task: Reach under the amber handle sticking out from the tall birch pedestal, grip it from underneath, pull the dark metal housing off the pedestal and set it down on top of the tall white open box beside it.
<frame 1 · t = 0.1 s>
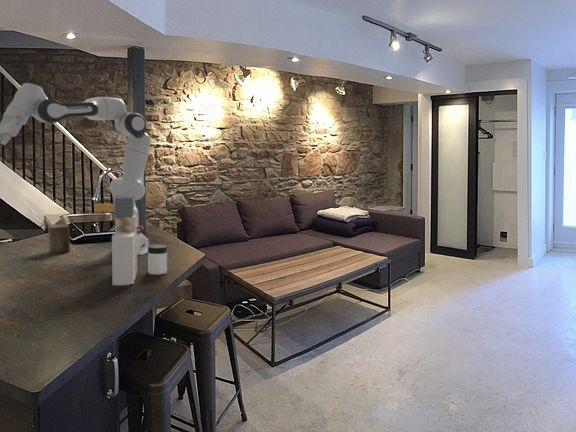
hand: (0, 144, 204), 54 cm above the counter, tool tilted 30°, fingers open, 8 cm apart
housing: (124, 215, 205), point 26 cm above the counter, touching tall pedestal
jar: (157, 272, 215), on the counter
pillar candle: (59, 252, 246), on the counter
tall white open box: (124, 281, 199), on the counter
tall pedestal: (126, 274, 209), on the counter
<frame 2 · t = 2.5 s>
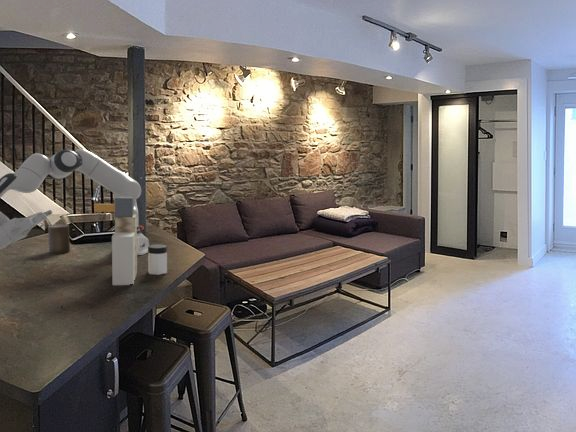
hand: (48, 213, 200), 27 cm above the counter, tool pointing upward, fingers open, 8 cm apart
nothing on the counter moved.
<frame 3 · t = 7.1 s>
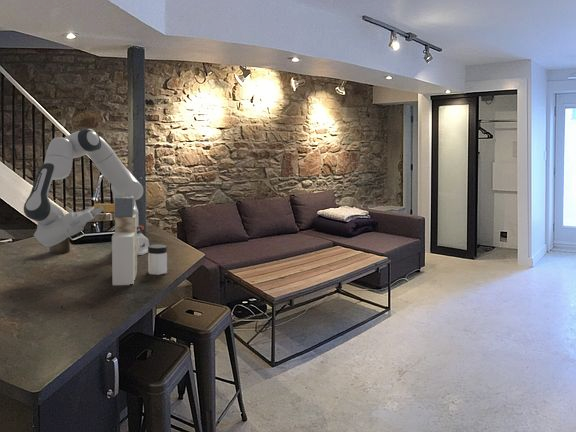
hand: (104, 206, 203), 30 cm above the counter, tool pointing upward, fingers closed on housing, 3 cm apart
housing: (124, 215, 205), point 26 cm above the counter, touching gripper, tall pedestal
everything else where it was.
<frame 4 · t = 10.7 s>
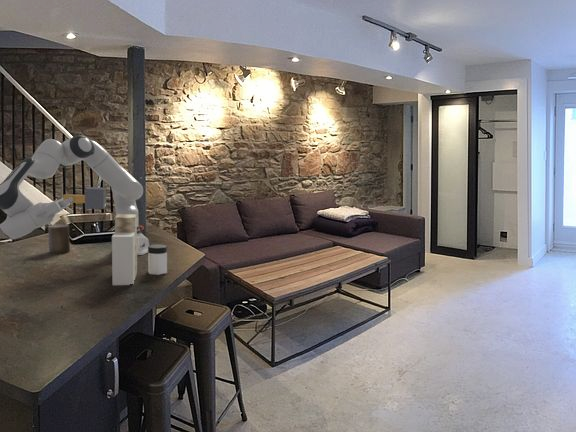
hand: (74, 197, 194), 34 cm above the counter, tool pointing upward, fingers closed on housing, 3 cm apart
housing: (95, 207, 196), point 30 cm above the counter, touching gripper
everything else where it was.
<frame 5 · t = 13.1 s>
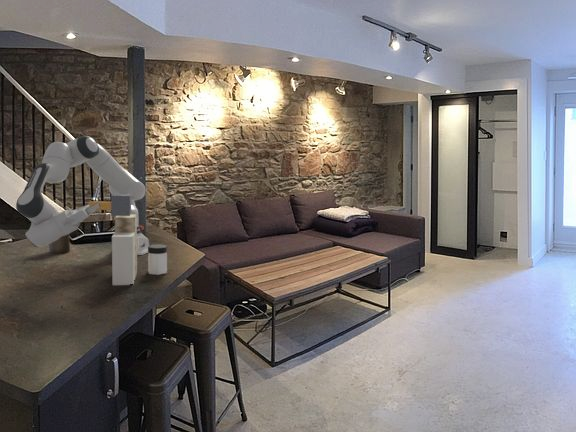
hand: (100, 204, 192), 32 cm above the counter, tool pointing upward, fingers closed on housing, 3 cm apart
housing: (121, 214, 194), point 28 cm above the counter, touching gripper
everything else where it was.
when the fingers open (25 cm above the counter, at t = 14.8 s): housing drops 1 cm, resting on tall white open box.
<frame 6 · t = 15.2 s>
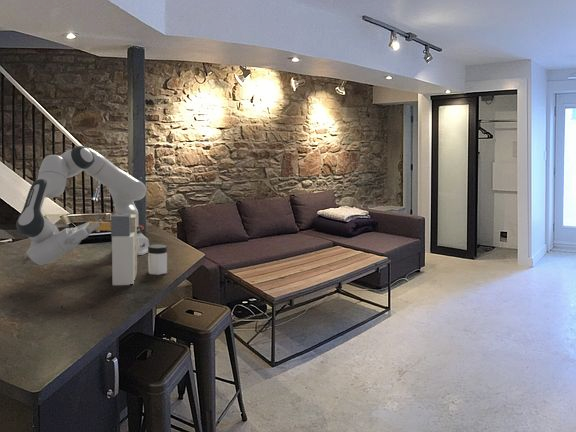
hand: (100, 222, 193), 25 cm above the counter, tool pointing upward, fingers open, 6 cm apart
housing: (121, 234, 195), point 20 cm above the counter, touching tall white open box
everything else where it was.
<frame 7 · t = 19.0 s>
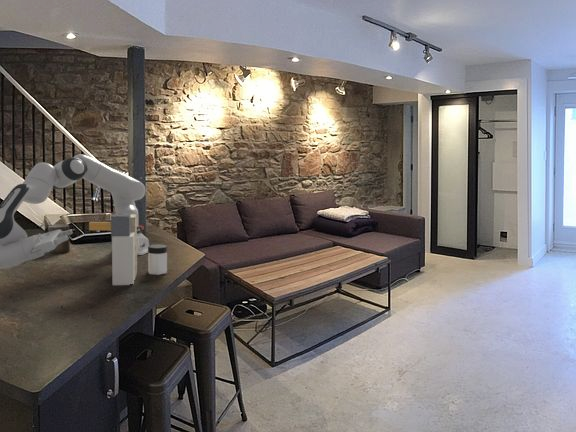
hand: (69, 234, 192), 20 cm above the counter, tool pointing upward, fingers open, 8 cm apart
nothing on the counter moved.
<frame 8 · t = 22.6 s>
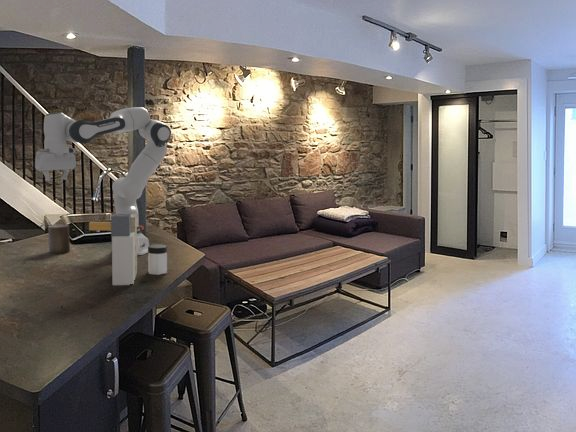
hand: (56, 180, 216), 39 cm above the counter, tool pointing down, fingers open, 8 cm apart
nothing on the counter moved.
at the end: housing inside the target area on the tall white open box (0.9 cm from its centre), point 20.0 cm above the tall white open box's base; housing tilted 0°; the gripper is holding nothing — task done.
